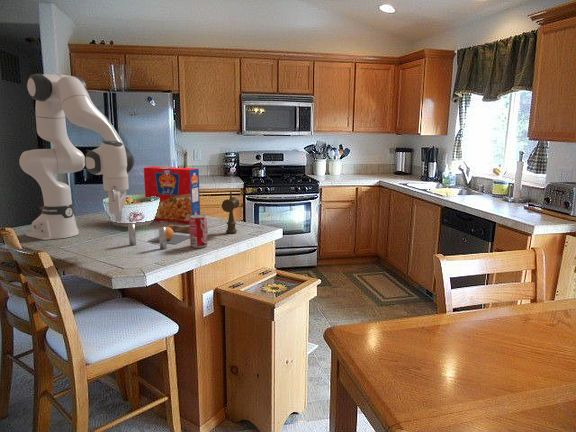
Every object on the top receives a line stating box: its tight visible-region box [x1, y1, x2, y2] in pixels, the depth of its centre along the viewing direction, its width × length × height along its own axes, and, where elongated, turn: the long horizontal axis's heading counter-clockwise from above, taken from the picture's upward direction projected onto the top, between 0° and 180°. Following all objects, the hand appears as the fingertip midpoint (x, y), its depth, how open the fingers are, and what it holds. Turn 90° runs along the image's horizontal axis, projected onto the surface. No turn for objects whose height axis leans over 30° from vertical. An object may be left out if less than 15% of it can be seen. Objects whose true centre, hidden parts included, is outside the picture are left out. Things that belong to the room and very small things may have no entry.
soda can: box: [188, 214, 209, 249], centre depth 176 cm, size 7×7×13 cm
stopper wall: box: [167, 224, 208, 234], centre depth 201 cm, size 20×2×2 cm, turn 71°
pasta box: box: [143, 165, 201, 225], centre depth 223 cm, size 28×8×28 cm, turn 70°
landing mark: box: [148, 233, 190, 245], centre depth 189 cm, size 14×14×1 cm
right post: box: [158, 225, 168, 250], centre depth 173 cm, size 3×3×9 cm
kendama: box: [221, 190, 240, 234], centre depth 199 cm, size 6×10×20 cm, turn 169°
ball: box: [165, 226, 175, 240], centre depth 186 cm, size 6×6×6 cm
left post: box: [127, 223, 137, 247], centre depth 178 cm, size 3×3×9 cm
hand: (118, 220), depth 162 cm, fingers closed
